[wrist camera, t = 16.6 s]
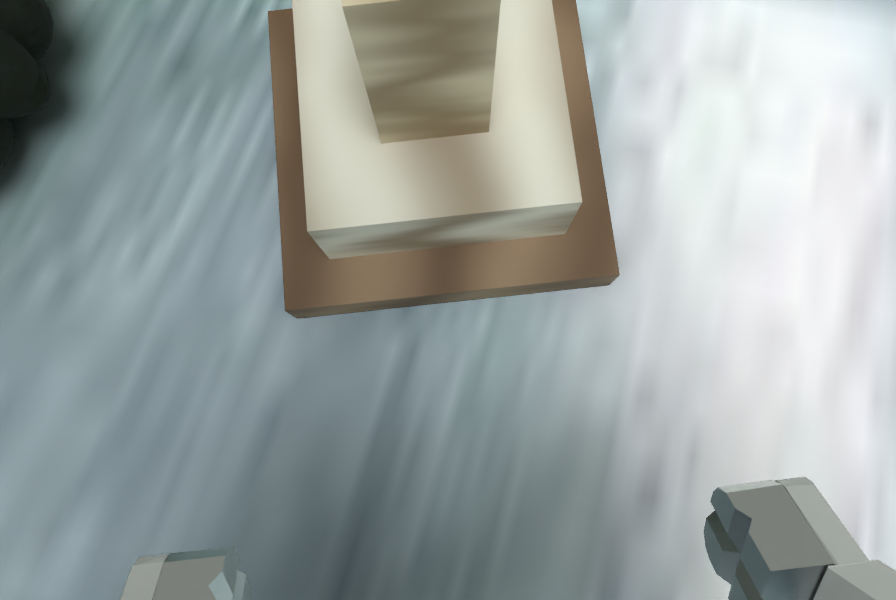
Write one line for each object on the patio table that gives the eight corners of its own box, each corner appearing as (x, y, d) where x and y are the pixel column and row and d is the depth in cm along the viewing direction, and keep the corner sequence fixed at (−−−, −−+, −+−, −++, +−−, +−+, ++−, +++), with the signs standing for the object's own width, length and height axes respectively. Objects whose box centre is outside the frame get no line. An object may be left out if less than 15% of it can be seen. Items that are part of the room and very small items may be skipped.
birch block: (381, 143, 24) (341, 6, 16) (372, 46, 25) (330, -130, 17) (489, 132, 24) (501, -11, 16) (476, 35, 25) (483, -147, 17)
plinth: (297, 318, 29) (254, 291, 23) (280, 36, 32) (238, -52, 26) (609, 285, 29) (646, 249, 23) (565, 6, 32) (588, -91, 26)
